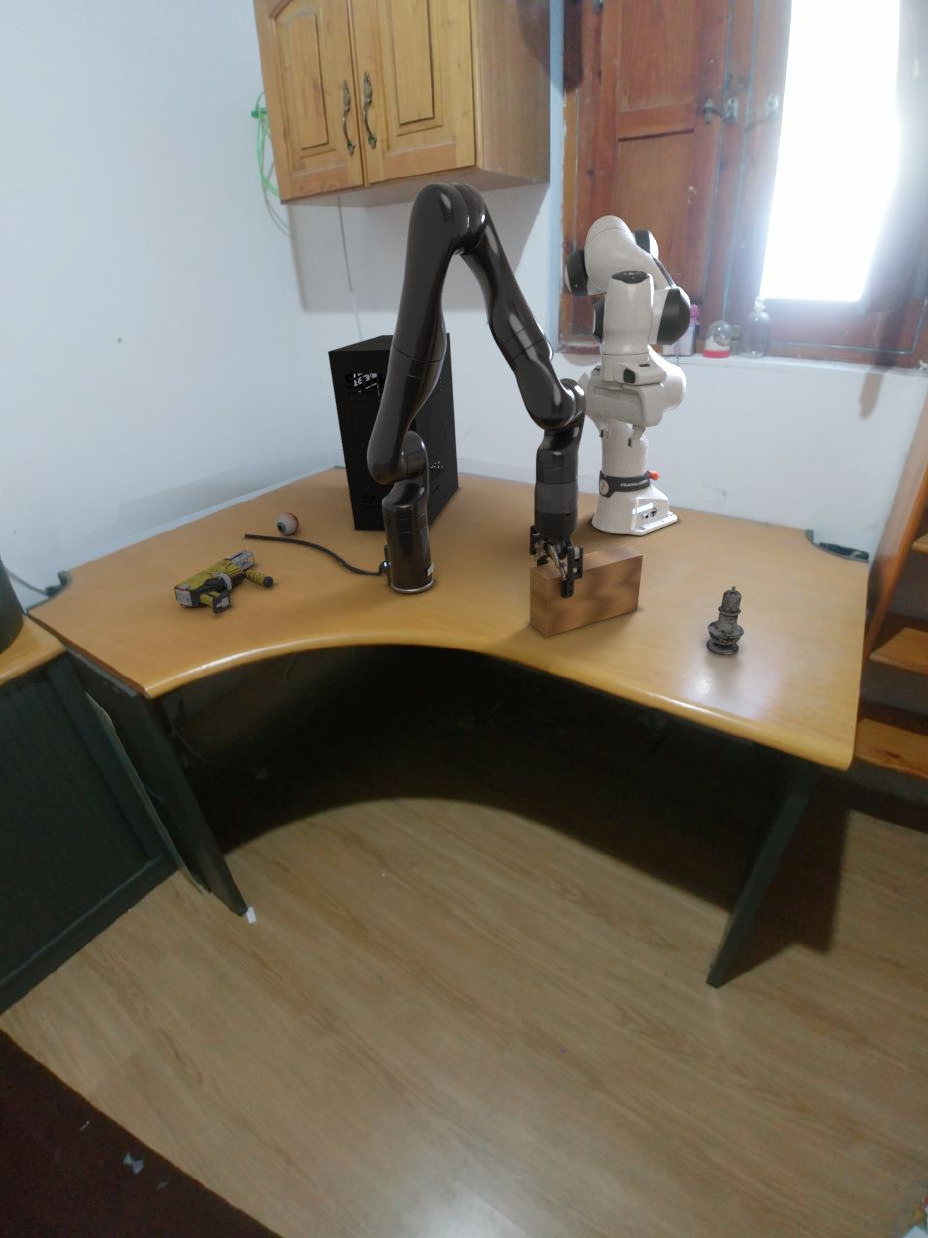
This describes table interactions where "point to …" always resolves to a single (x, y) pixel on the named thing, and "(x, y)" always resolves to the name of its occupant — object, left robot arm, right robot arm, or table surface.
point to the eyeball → (287, 523)
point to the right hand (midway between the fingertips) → (618, 442)
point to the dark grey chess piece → (726, 625)
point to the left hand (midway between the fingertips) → (554, 587)
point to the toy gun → (218, 582)
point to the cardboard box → (360, 419)
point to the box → (586, 590)
